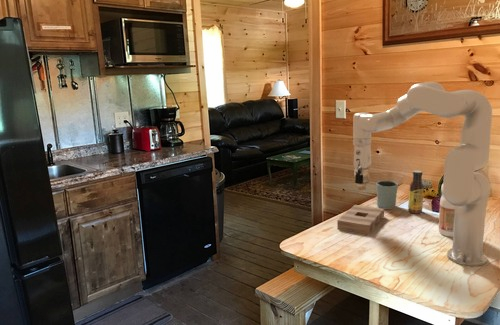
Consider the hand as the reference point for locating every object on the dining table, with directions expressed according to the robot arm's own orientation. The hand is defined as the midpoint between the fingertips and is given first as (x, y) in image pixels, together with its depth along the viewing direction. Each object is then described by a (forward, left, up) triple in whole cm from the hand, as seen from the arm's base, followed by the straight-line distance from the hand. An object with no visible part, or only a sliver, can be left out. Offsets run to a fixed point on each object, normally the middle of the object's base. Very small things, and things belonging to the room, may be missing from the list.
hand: (361, 181), depth 176 cm
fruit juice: (+5, -36, -20) cm, 41 cm away
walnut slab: (0, 0, -20) cm, 20 cm away
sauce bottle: (+24, -18, -20) cm, 36 cm away
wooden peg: (0, 0, -4) cm, 4 cm away
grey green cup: (+26, -4, -20) cm, 33 cm away
